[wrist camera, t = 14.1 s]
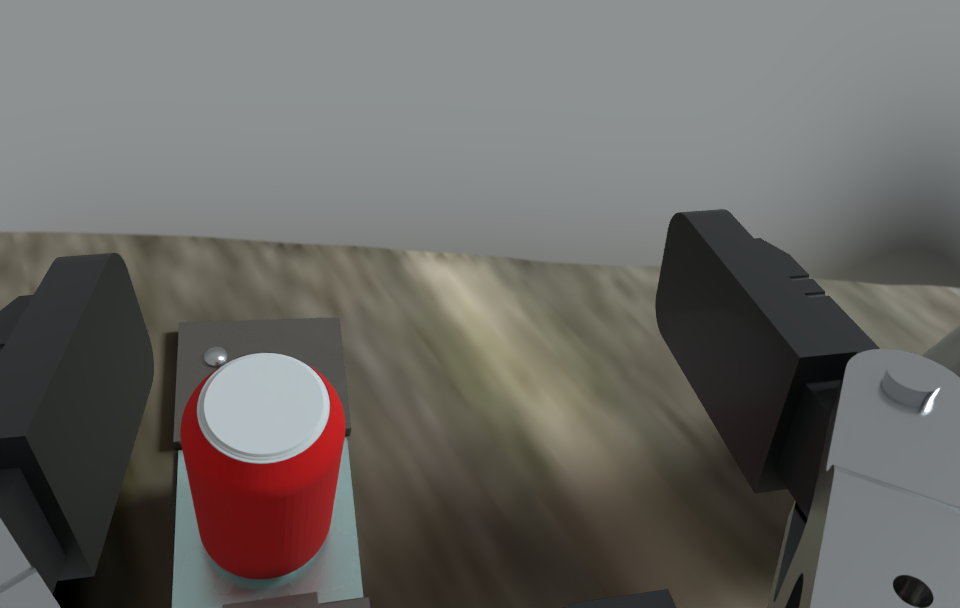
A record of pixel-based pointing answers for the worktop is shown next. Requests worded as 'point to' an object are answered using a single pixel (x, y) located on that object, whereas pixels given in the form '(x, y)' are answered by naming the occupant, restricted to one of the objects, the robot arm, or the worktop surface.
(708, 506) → the worktop surface
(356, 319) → the worktop surface
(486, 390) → the worktop surface
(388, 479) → the worktop surface
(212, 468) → the beverage can
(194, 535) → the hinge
